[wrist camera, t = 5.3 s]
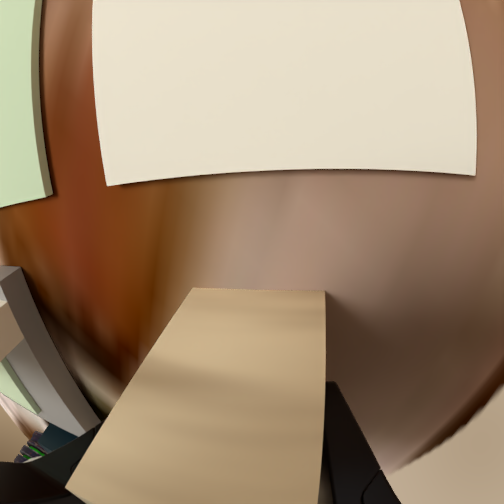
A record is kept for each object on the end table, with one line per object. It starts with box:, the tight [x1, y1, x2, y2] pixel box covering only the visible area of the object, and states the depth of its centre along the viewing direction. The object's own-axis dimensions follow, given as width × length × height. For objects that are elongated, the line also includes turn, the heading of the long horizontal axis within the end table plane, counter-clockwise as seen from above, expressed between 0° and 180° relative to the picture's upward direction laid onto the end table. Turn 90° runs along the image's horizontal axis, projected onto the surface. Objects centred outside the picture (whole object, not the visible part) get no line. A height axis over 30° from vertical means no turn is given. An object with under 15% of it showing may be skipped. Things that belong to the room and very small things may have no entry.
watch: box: [23, 423, 78, 463], centre depth 14 cm, size 6×8×11 cm
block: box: [65, 288, 326, 504], centre depth 7 cm, size 5×4×7 cm
